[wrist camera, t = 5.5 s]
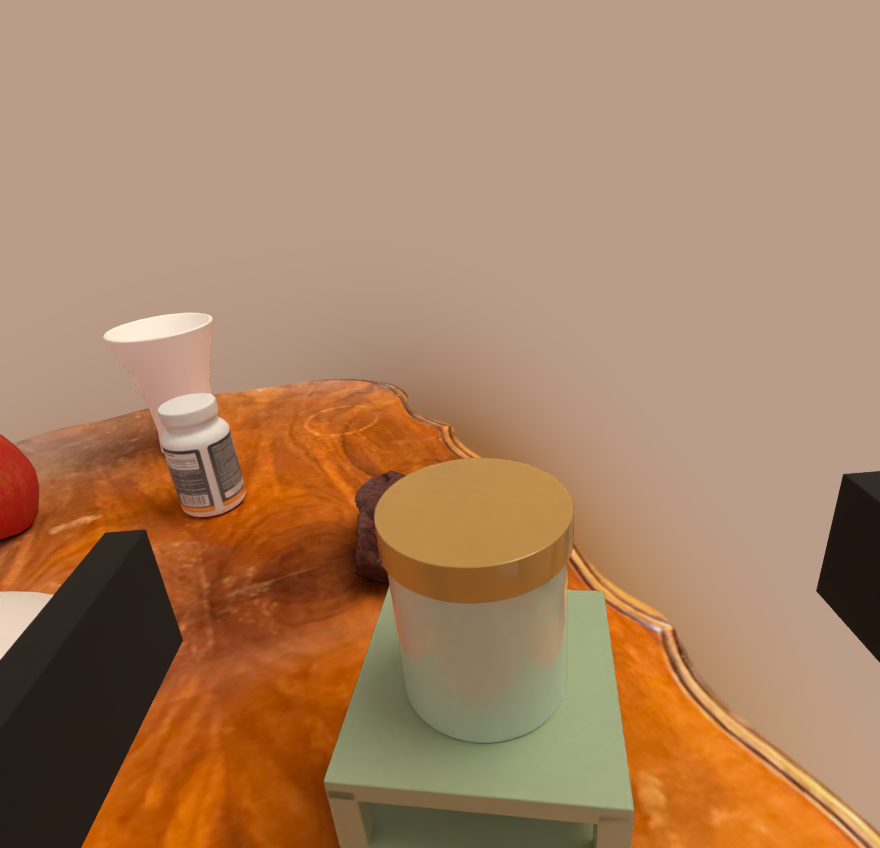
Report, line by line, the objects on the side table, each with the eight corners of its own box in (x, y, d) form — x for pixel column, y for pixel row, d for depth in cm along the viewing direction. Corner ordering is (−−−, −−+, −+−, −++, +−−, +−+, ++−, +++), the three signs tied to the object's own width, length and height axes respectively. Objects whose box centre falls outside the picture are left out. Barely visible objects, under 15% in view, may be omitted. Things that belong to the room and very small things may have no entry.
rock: (412, 530, 53) (322, 552, 50) (405, 460, 52) (313, 478, 49) (471, 569, 43) (366, 599, 40) (464, 484, 42) (355, 508, 39)
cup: (214, 416, 74) (185, 308, 68) (258, 438, 67) (230, 319, 62) (127, 449, 67) (87, 332, 62) (166, 476, 61) (126, 347, 55)
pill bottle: (233, 480, 59) (208, 385, 55) (257, 502, 55) (232, 400, 50) (173, 503, 56) (142, 404, 51) (194, 528, 51) (162, 423, 47)
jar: (576, 756, 22) (579, 570, 19) (381, 741, 23) (349, 564, 20) (568, 614, 29) (569, 457, 25) (416, 608, 30) (397, 457, 26)
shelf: (625, 926, 23) (634, 810, 20) (350, 892, 25) (322, 781, 22) (600, 691, 33) (603, 590, 30) (404, 679, 35) (389, 583, 32)
